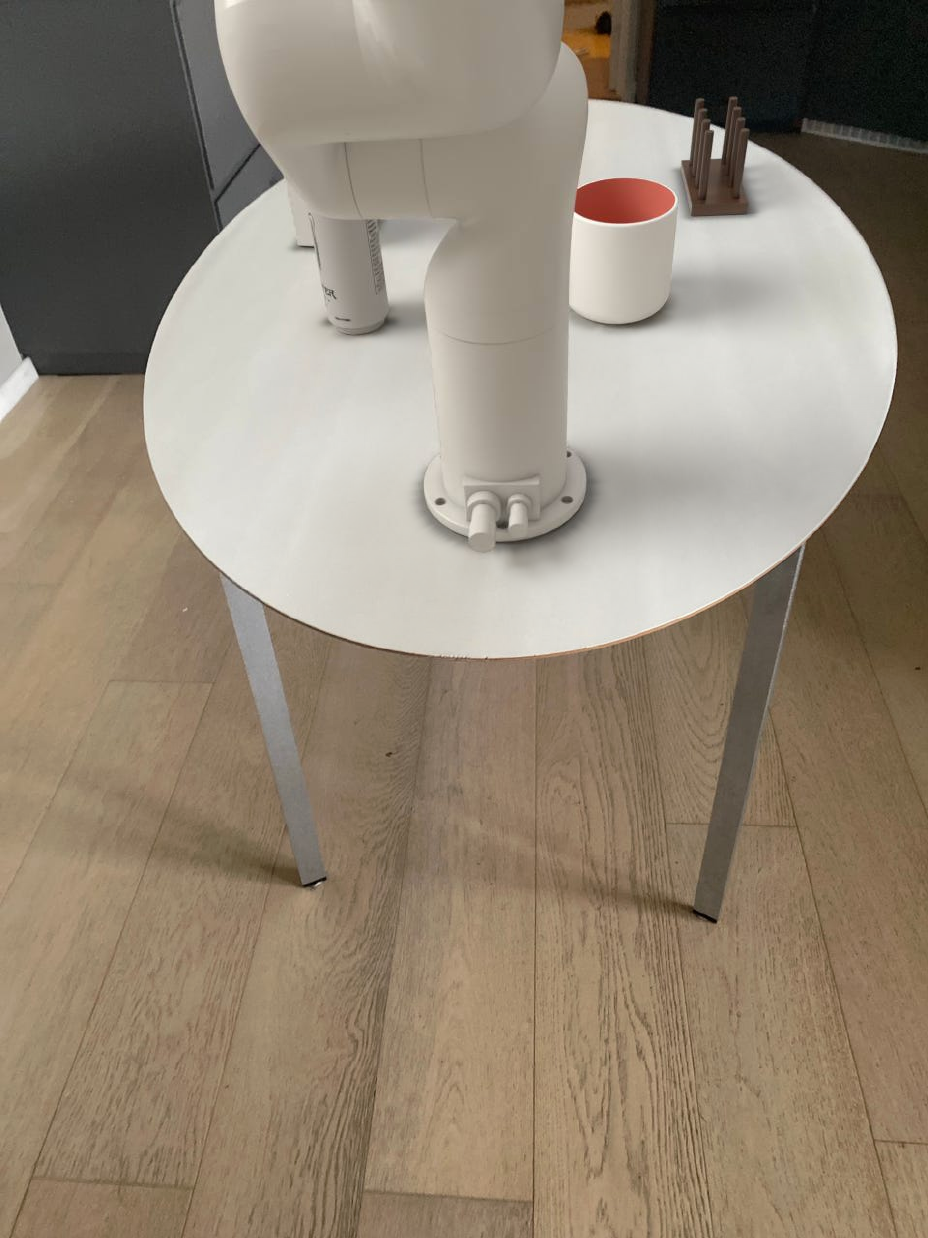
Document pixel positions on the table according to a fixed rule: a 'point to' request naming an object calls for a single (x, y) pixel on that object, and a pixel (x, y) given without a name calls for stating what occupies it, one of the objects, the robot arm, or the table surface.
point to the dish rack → (716, 165)
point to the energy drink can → (350, 272)
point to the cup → (622, 249)
